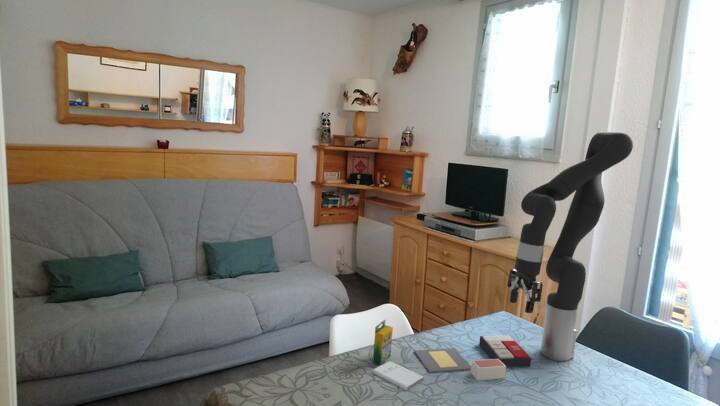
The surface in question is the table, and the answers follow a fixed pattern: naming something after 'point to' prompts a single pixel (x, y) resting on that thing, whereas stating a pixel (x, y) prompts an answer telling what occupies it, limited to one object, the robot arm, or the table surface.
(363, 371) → the table surface
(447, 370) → the rubber mat
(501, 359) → the calculator
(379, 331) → the crayon box
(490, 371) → the card deck
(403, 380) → the external hard drive
